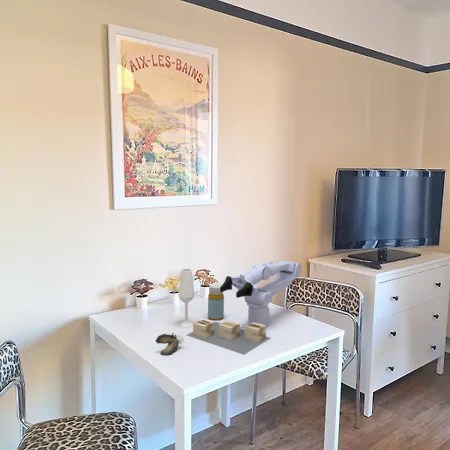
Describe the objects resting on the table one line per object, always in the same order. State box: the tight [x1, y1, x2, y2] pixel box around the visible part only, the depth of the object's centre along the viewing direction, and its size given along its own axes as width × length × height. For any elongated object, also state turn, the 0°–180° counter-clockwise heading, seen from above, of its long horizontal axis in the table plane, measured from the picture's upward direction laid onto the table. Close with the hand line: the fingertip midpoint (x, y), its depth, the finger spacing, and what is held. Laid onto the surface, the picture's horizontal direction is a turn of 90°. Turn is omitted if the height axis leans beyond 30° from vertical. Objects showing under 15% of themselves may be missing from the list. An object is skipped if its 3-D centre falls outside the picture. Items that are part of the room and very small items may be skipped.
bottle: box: [207, 283, 225, 321], centre depth 186 cm, size 7×7×15 cm
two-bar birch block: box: [192, 318, 215, 339], centre depth 168 cm, size 6×6×5 cm
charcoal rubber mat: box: [186, 321, 272, 355], centre depth 166 cm, size 19×28×1 cm
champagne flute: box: [178, 268, 195, 328], centre depth 178 cm, size 7×7×24 cm
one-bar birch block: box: [244, 322, 267, 342], centre depth 165 cm, size 6×6×5 cm
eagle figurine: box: [155, 332, 185, 356], centre depth 154 cm, size 8×7×9 cm
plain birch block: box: [219, 319, 241, 340], centre depth 166 cm, size 6×6×5 cm
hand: (228, 292), depth 161 cm, fingers open, 7 cm apart
